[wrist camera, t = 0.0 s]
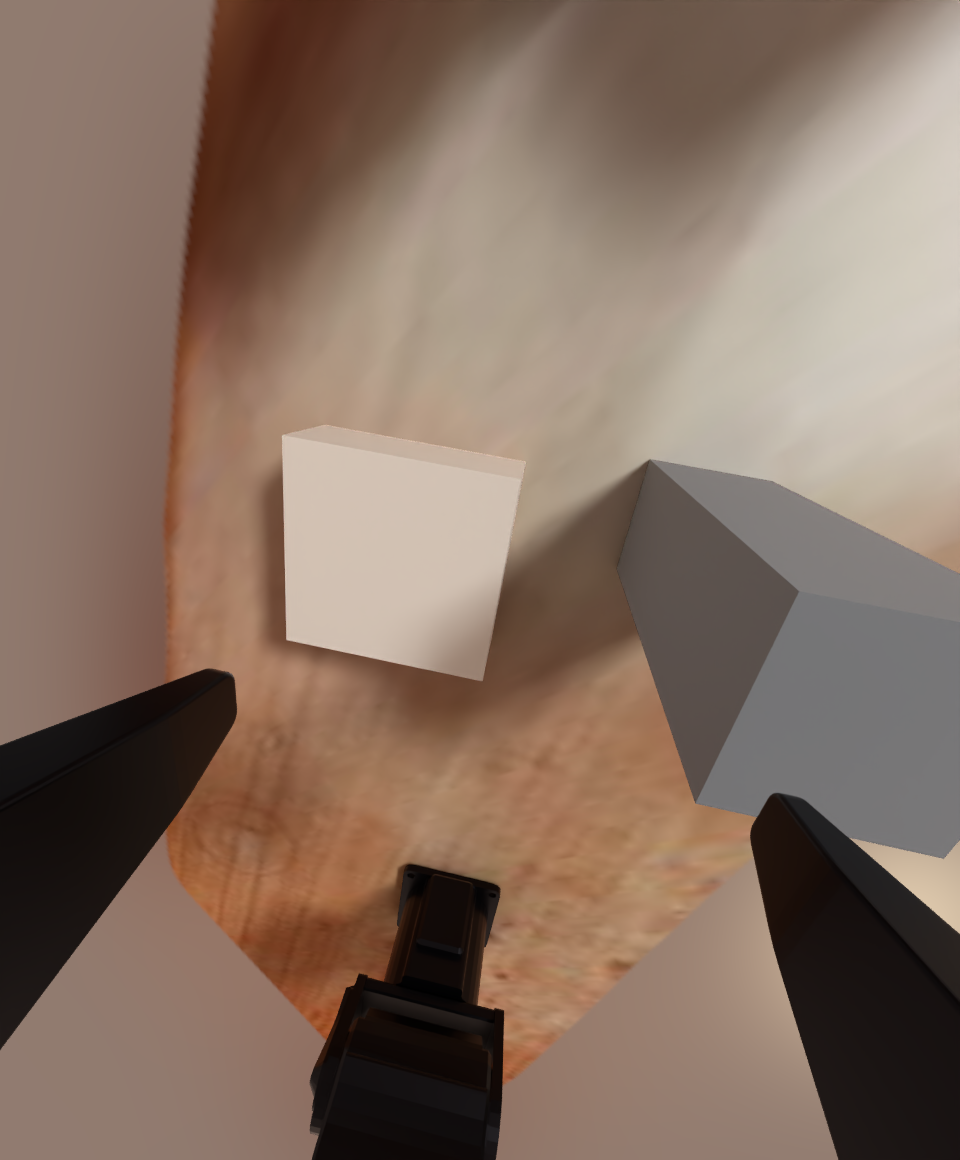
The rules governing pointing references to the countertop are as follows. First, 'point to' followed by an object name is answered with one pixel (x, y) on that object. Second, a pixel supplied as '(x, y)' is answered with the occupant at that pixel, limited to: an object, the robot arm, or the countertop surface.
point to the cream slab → (396, 547)
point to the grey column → (798, 655)
